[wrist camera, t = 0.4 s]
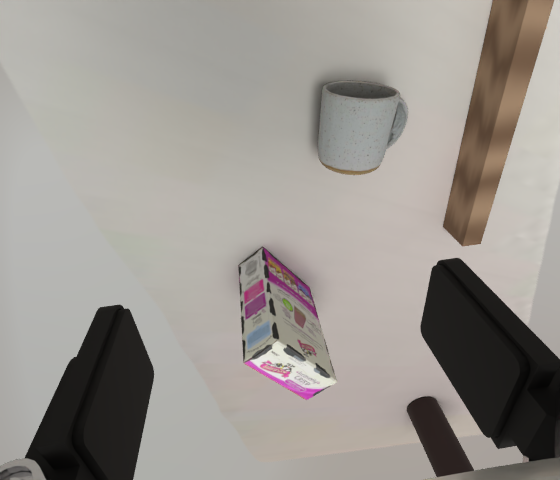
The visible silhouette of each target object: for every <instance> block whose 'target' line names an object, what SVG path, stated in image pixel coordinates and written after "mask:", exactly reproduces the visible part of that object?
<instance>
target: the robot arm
mask: <svg viewBox="0 0 560 480" xmlns="http://www.w3.org/2000/svg"><path fill="white" fill-rule="evenodd" d="M421 333H422V336H423V338H424V340H425V341H426V343H427V345H428V346H429V348H430V349H431V351H432V353H433V354H434V356H435V357H436V359H437V361H438V362H439V364H440V365H441V367H442V369H443V370H444V372H445V373H446V375H447V377H448V378H449V380H450V382H451V383H452V385H453V386H454V388H455V390H456V391H457V393H458V394H459V396H460V398H461V399H462V401H463V402H464V404H465V406H466V407H467V409H468V410H469V412H470V414H471V415H472V417H473V418H474V420H475V422H476V423H477V425H478V427H479V428H480V430H481V431H482V433H483V434H484V435H485V436H486V437H488V438H490V437H491V439H492V440H493V442H494V443H495V445H496V447H497V448H498V449H500V448H506V447H512V446H517V447H518V449H519V450H520V451H521V453H522V454H523V463H518V464H512V465H506V466H499V467H493V468H487V469H481V470H476V471H470V472H464V473H458V474H453V475H447V476H442V477H436V478H431V479H425V480H560V359H559V358H558V357H557V356H556V355H555V354H554V353H553V352H552V351H551V350H550V349H549V348H548V347H547V346H546V345H545V344H544V343H543V342H542V341H541V340H540V339H539V338H538V337H537V336H536V335H535V334H534V333H533V332H532V331H531V330H530V329H529V328H528V327H527V326H526V325H525V324H524V323H523V322H522V321H521V320H520V319H519V318H518V317H517V316H516V315H515V314H514V313H513V312H512V311H511V309H510V308H509V307H508V306H507V305H506V304H505V303H504V302H503V301H502V300H501V299H500V298H499V297H498V296H497V295H496V294H495V293H494V292H493V291H492V290H491V289H490V288H489V287H488V286H487V285H486V284H485V283H484V282H483V281H482V280H481V279H480V278H479V277H478V276H477V275H476V274H475V273H474V272H473V271H472V270H471V269H470V268H469V267H468V266H467V265H466V264H465V263H464V262H463V261H462V260H461V259H459V258H453V259H446V260H440V261H438V263H437V265H436V266H433V268H432V271H431V276H430V282H429V287H428V292H427V297H426V302H425V307H424V312H423V317H422V322H421ZM153 379H154V370H153V366H152V364H151V361H150V359H149V356H148V354H147V351H146V349H145V346H144V344H143V341H142V339H141V336H140V334H139V331H138V329H137V326H136V324H135V322H134V319H133V317H132V314H131V312H130V310H129V309H124V308H123V306H121V305H114V306H107V307H100V308H99V309H98V310H97V312H96V314H95V317H94V319H93V321H92V323H91V326H90V328H89V330H88V333H87V335H86V337H85V339H84V341H83V343H82V346H81V348H80V350H79V352H78V355H77V357H74V358H73V359H72V360H71V361H70V362H69V364H68V366H67V368H66V370H65V372H64V374H63V376H62V378H61V381H60V383H59V385H58V387H57V389H56V391H55V394H54V396H53V398H52V400H51V402H50V404H49V407H48V409H47V411H46V413H45V415H44V417H43V419H42V422H41V424H40V426H39V428H38V430H37V433H36V435H35V437H34V439H33V441H32V443H31V445H30V448H29V450H28V452H27V454H26V456H25V458H24V459H16V460H13V461H10V462H7V463H5V464H3V465H2V466H0V480H133V477H134V472H135V467H136V462H137V458H138V453H139V448H140V443H141V438H142V433H143V428H144V424H145V419H146V414H147V409H148V404H149V399H150V394H151V389H152V384H153Z"/></svg>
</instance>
